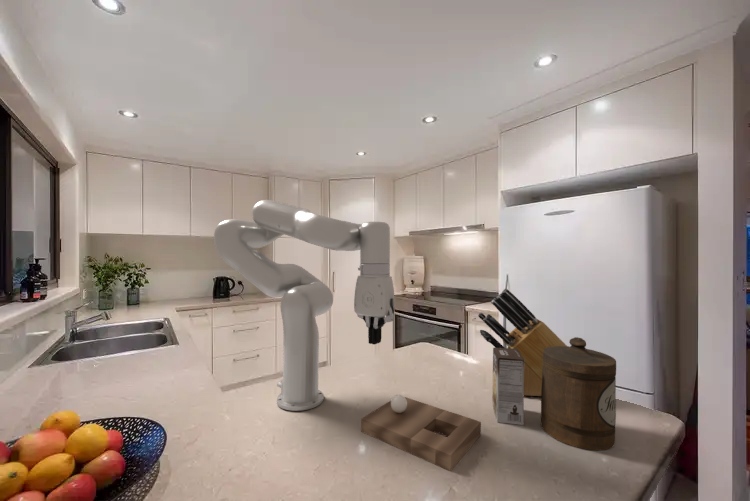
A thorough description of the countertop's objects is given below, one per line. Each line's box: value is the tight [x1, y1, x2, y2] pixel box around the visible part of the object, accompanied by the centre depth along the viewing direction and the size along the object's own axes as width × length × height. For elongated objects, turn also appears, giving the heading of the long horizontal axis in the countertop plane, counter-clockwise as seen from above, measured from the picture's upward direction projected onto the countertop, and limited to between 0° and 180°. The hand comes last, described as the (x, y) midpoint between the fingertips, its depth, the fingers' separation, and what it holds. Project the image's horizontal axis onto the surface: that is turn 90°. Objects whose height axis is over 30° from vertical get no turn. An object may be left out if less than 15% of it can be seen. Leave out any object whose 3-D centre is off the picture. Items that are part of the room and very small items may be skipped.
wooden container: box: [540, 336, 617, 451], centre depth 78 cm, size 15×15×22 cm
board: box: [360, 396, 482, 472], centre depth 76 cm, size 22×16×3 cm
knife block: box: [477, 288, 568, 397], centre depth 101 cm, size 11×35×31 cm, turn 82°
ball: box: [390, 394, 407, 413], centre depth 80 cm, size 4×4×4 cm
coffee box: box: [492, 347, 525, 426], centre depth 85 cm, size 9×6×16 cm
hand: (374, 342), depth 84 cm, fingers closed
